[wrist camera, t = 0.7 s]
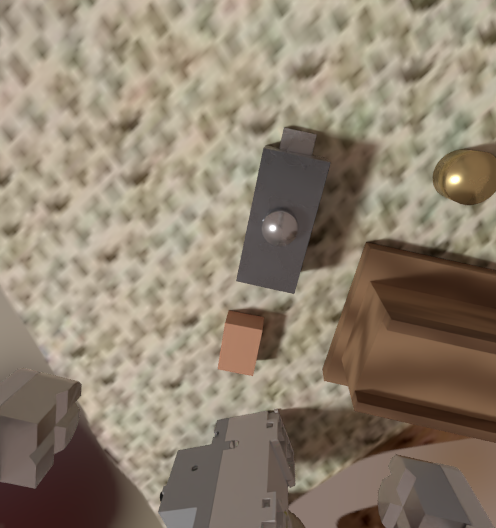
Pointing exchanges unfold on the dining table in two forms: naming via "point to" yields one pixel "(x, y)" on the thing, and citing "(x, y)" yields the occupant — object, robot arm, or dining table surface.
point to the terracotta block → (240, 342)
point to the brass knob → (466, 176)
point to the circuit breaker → (233, 477)
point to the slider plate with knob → (283, 212)
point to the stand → (419, 342)
